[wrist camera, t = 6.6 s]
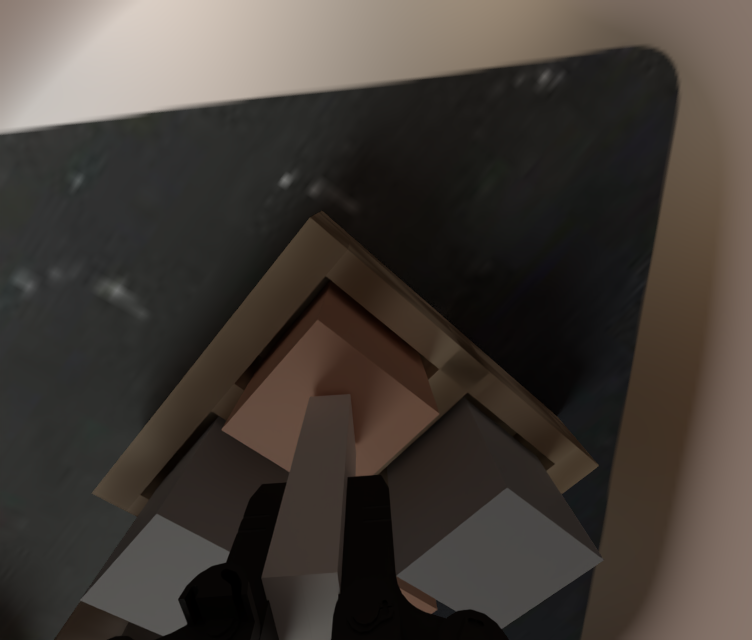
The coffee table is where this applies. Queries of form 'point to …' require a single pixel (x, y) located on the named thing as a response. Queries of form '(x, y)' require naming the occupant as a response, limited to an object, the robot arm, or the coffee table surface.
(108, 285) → the coffee table surface
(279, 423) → the button terracotta front
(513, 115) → the coffee table surface
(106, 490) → the button board
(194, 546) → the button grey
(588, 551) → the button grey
